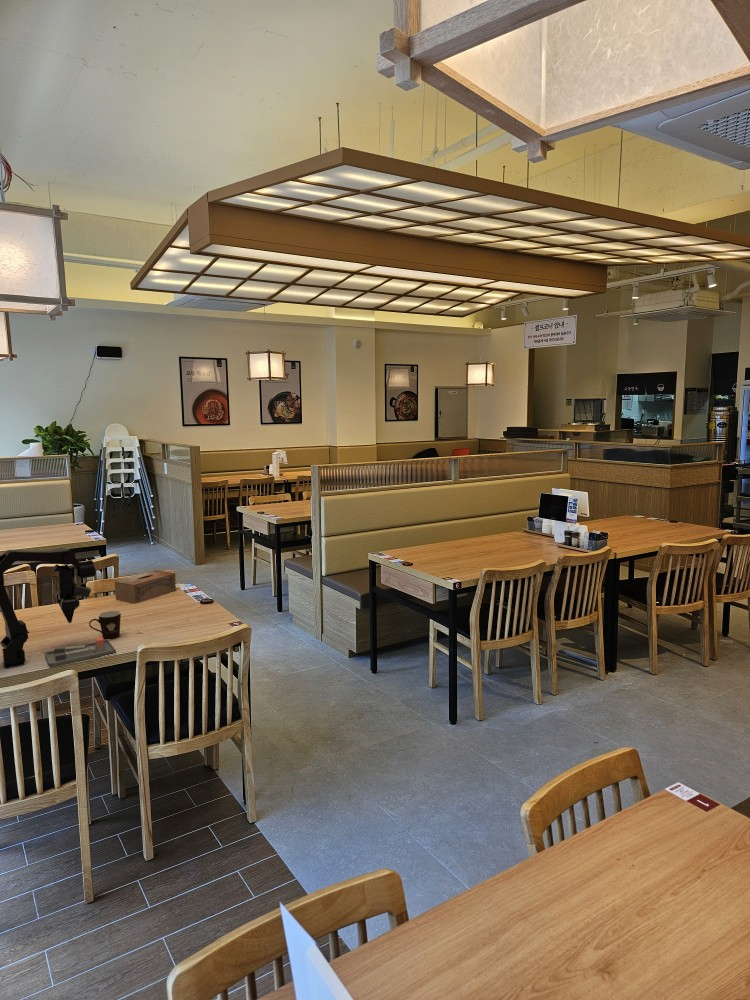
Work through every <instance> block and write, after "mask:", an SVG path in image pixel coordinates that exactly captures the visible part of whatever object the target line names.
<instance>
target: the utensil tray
mask: <svg viewBox="0 0 750 1000" xmlns="http://www.w3.org/2000/svg"><path fill="white" fill-rule="evenodd" d="M84 645H86V648H87V647H88V646H91V645H96V641H94V642H89V643H83V644H80V645H79V644H78V645H77V646H84ZM104 645H105V650H104V651H99V652H96V653H93V654H89V655H84V656H79V657H75V658H70V659H65V660H61V661H55V654H54V649H53V650H48V651H44V654H43V655H44V657H45V660H46V663H47V662H48V663H47V665H48V667H49V669H51V668H57V667H60V666H61V667H62V666H66V665H70V664H74V663H75V662H76V663H78V662H79V663H80V662H85V661H89V660H93V659H98V658H103V657H102V656H104V657H106V656H105V655H108V656H110V655H109V654H113V653H116V654H117V649H116V648H115V647H114V646H113V645H112V643H111V641H109V640H105V639H104ZM113 655H114V654H113ZM76 663H75V664H76Z"/></svg>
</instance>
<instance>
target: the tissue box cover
mask: <svg viewBox="0 0 750 1000" xmlns="http://www.w3.org/2000/svg"><path fill="white" fill-rule="evenodd" d="M176 583H177V582H176V573H175V572H170V571H165V570H160V569H156V570H151V571H147V572H143V573H140V574H136V575H132V576H129V577H125V578H122V579H117V580H115V581H114V590H115V591H114V593H115V600H116V601H119V602H125V603H129V604H133V605H136V604H139V603H143V602H146V601H149V600H152V599H155V598H158V597H161V595H162V596H165V595H168V594H171V592H172V593H174V592H177V586H176V585H177V584H176Z"/></svg>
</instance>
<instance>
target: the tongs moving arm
mask: <svg viewBox="0 0 750 1000" xmlns="http://www.w3.org/2000/svg"><path fill="white" fill-rule="evenodd" d="M85 648H86V645H84V646H78V645H75V646H61V647H54V649H53V650H54V654H59V653H64V652H70V651H75V650H80V649H85Z"/></svg>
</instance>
